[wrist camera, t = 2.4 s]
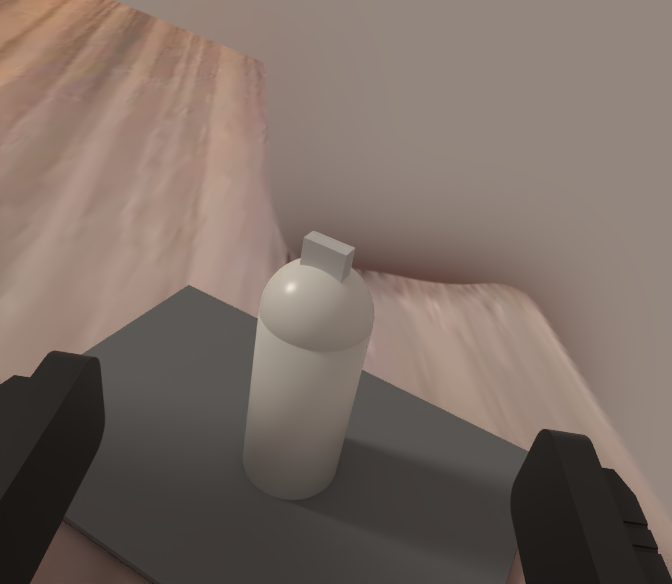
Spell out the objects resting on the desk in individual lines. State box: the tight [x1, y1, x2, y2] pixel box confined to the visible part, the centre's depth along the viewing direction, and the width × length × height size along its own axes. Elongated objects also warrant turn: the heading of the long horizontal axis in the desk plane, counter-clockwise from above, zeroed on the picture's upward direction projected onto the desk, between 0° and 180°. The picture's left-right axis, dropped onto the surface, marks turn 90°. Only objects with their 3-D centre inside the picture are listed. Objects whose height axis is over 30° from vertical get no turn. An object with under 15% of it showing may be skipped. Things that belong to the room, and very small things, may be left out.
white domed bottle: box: [243, 231, 374, 500], centre depth 25 cm, size 5×5×12 cm
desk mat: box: [63, 285, 528, 584], centre depth 29 cm, size 24×16×1 cm, turn 61°
